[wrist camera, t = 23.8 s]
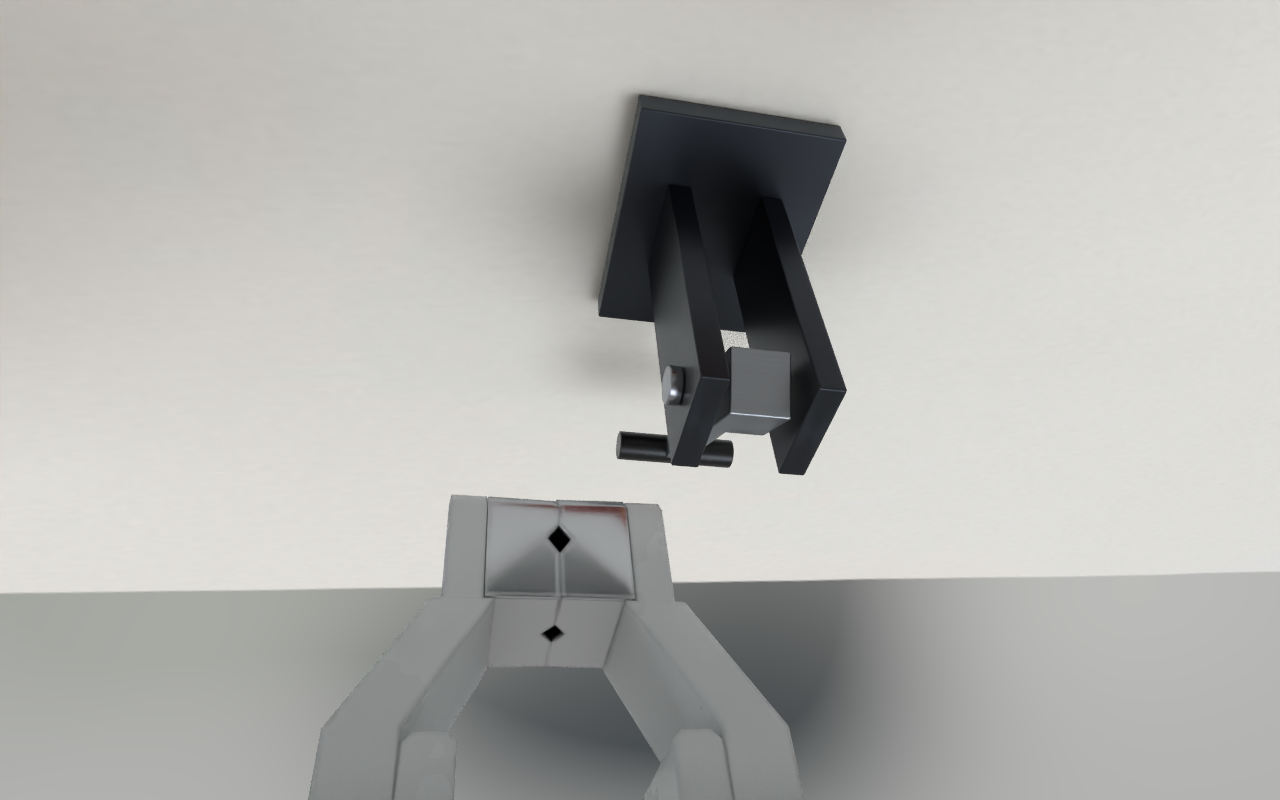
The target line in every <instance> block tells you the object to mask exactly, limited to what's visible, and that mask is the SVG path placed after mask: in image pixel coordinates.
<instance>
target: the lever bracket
mask: <svg viewBox="0 0 1280 800" xmlns="http://www.w3.org/2000/svg"><path fill="white" fill-rule="evenodd" d="M845 143H846V138H845V136H844V134H843V132H842V130H841V127H840V126H834V125H828V124H821V123H815V122H809V121H802V120H796V119H790V118H784V117H777V116H771V115H765V114H758V113H752V112H746V111H739V110H733V109H727V108H720V107H714V106H708V105H702V104H695V103H689V102H683V101H676V100H670V99H664V98H657V97H651V96H645V95H640V96H639V100H638V105H637V110H636V115H635V120H634V125H633V130H632V135H631V139H630V144H629V149H628V154H627V159H626V164H625V169H624V174H623V179H622V184H621V189H620V194H619V199H618V204H617V209H616V214H615V219H614V224H613V229H612V234H611V239H610V244H609V249H608V254H607V259H606V264H605V269H604V274H603V279H602V284H601V288H600V293H599V298H598V311H599V316H600V317H609V318H618V319H627V320H637V321H646V322H654V324H655V332H656V340H657V349H658V357H659V366H660V374H661V382H662V400H663V403H664V408H665V416H666V424H667V433H668V441H669V449H670V458H671V464H672V465H676V466H689V467H698V466H699V463H700V460H701V457H702V455H703V452H704V449H705V447H706V444H707V441H708V439H709V436H710V433H711V430H712V428H713V425H714V422H715V420H716V417H717V414H718V412H719V409H720V406H721V403H722V401H723V398H724V395H725V393H726V390H727V387H728V385H729V382H730V375H729V370H728V365H727V360H726V355H725V350H724V345H723V340H722V336H721V331H720V330H728V331H737V332H746V335H747V339H748V344H749V348H750V349H760V350H769V351H779V352H788V353H790V354H791V419H790V420H788V421H787V422H785V423H783V424H782V425H780V426H778V427H777V428H775V429H773V430H772V431H770V432H769V433H770V437H771V442H772V446H773V450H774V454H775V459H776V463H777V467H778V471H779V473H780V474H793V475H804V474H805V472H806V470H807V468H808V466H809V464H810V462H811V460H812V458H813V456H814V455H815V453H816V451H817V449H818V447H819V445H820V443H821V441H822V439H823V437H824V435H825V433H826V431H827V429H828V427H829V425H830V423H831V421H832V419H833V417H834V415H835V413H836V411H837V409H838V407H839V405H840V403H841V402H842V400H843V398H844V396H845V394H846V391H847V389H846V386H845V384H844V381H843V378H842V375H841V372H840V369H839V366H838V363H837V360H836V357H835V354H834V351H833V348H832V345H831V342H830V339H829V336H828V333H827V330H826V327H825V324H824V321H823V319H822V316H821V313H820V310H819V307H818V304H817V301H816V298H815V295H814V292H813V289H812V286H811V283H810V280H809V277H808V274H807V271H806V268H805V265H804V262H803V259H802V256H801V255H802V252H803V250H804V247H805V244H806V242H807V239H808V237H809V234H810V232H811V229H812V227H813V224H814V222H815V219H816V217H817V214H818V212H819V209H820V206H821V204H822V201H823V199H824V196H825V194H826V191H827V189H828V186H829V184H830V181H831V179H832V176H833V174H834V171H835V169H836V166H837V163H838V161H839V158H840V156H841V153H842V151H843V148H844V146H845Z"/></svg>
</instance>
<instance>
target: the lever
mask: <svg viewBox="0 0 1280 800" xmlns="http://www.w3.org/2000/svg"><path fill="white" fill-rule="evenodd" d="M725 355H726V360H727V365H728V370H729V375H730V382H729V385H728V387H727V390H726V393H725V395H724V398H723V401H722V403H721V406H720V409H719V412H718V414H717V417H716V420H715V422H714V425H713V428H712V430H711V433H710V436H709V439H708V441H707V444H706V447H705V449H704V452H703V455H702V457H701V460H700V463H699V465H701V466H714V467H726V468H728V467H730V466H731V464H732V461H733V454H734V449H733V443H732V441H730V440H718V439H716V438H718V437H719V436H721V435H722V434H724V433H725V432H729V433H741V434H752V435H765V434H767V433H768V432H770V431H772V430H773V429H775V428H777V427H778V426H780V425H782V424H783V423H785V422H787V421H788V420H790V419H791V354H790V353H788V352H779V351H769V350H760V349H750V348H741V347H730V348H729V349H728V350H727V351H726V352H725ZM616 456H617V459H624V460H637V461H650V462H663V463H671V458H670V449H669V441H668V435H659V434H647V433H635V432H623V431H620V432H619V434H618V437H617V445H616Z"/></svg>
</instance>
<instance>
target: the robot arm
mask: <svg viewBox="0 0 1280 800" xmlns="http://www.w3.org/2000/svg"><path fill="white" fill-rule="evenodd" d="M534 666H535V667H537V666H538V667H539V666H549V667H550V666H552V667H580V668H604V673H605V675H606V676H607V678H608V679H609V681H610V683H611V684H612V686H613V687H614V689H615V691H616V692H617V694H618V695H619V697H620V698H621V700H622V702H623V703H624V705H625V706H626V708H627V710H628V711H629V713H630V714H631V716H632V717H633V719H634V720H635V722H636V724H637V726H638V727H639V729H640V730H641V732H642V733H643V735H644V737H645V738H646V740H647V741H648V743H649V745H650V746H651V748H652V749H653V751H654V753H655V754H656V756H657V757H658V759H659V761H660V762H661V765H660V767H659V768H658V770H657V773H656V774H655V776H654V778H653V781H652V782H651V784H650V786H649V788H648V790H647V792H646V794H645V796H644V798H643V800H805V799H804V795H803V790H802V785H801V781H800V776H799V772H798V767H797V763H796V758H795V754H794V749H793V745H792V740H791V735H790V731H789V727H788V725H787V724H786V723H785V722H784V720H783V719H782V718H781V717H780V716H779V714H778V713H777V712H776V711H775V710H774V708H773V707H772V706H771V705H770V704H769V703H768V701H767V700H766V699H765V698H764V697H763V695H762V694H761V693H760V692H759V690H758V689H757V688H756V687H755V686H754V684H753V683H752V682H751V681H750V680H749V678H748V677H747V676H746V675H745V674H744V672H743V671H742V670H741V669H740V668H739V667H738V665H737V664H736V663H735V662H734V661H733V659H732V658H731V657H730V656H729V655H728V653H727V652H726V651H725V650H724V649H723V648H722V646H721V645H720V644H719V643H718V642H717V640H716V639H715V638H714V637H713V635H712V634H711V633H710V632H709V631H708V629H707V628H706V627H705V626H704V625H703V624H702V622H701V621H700V620H699V619H698V618H697V616H696V615H695V614H694V613H693V612H692V610H691V609H690V608H689V607H688V606H687V604H686V603H685V602H675V600H674V593H673V586H672V579H671V572H670V565H669V558H668V551H667V544H666V537H665V530H664V523H663V516H662V510H661V508H660V507H659V505H658V504H640V503H624V504H623V502H608V501H576V500H556V501H544V500H530V499H515V498H501V497H488V499H487V496H468V495H451V499H450V503H449V512H448V524H447V535H446V547H445V559H444V571H443V583H442V595H441V596H439V597H437V596H436V597H435V596H432V597H430V598H429V599H428V600H427V602H426V603H425V604H424V605H423V607H422V608H421V609H420V610H419V611H418V612H417V614H416V615H415V616H414V617H413V619H412V620H411V621H410V622H409V623H408V625H407V626H406V627H405V628H404V629H403V631H402V632H401V633H400V634H399V635H398V637H397V638H396V639H395V640H394V641H393V643H392V644H391V645H390V646H389V648H388V649H387V650H386V651H385V652H384V653H383V655H382V656H381V657H380V658H379V660H378V661H377V662H376V663H375V664H374V666H373V667H372V668H371V669H370V671H369V672H368V673H367V674H366V675H365V677H364V678H363V679H362V680H361V681H360V682H359V684H358V685H357V686H356V687H355V689H354V690H353V691H352V692H351V693H350V695H349V696H348V697H347V698H346V700H345V701H344V702H343V703H342V704H341V706H340V707H339V708H338V709H337V710H336V711H335V713H334V714H333V715H332V716H331V717H330V719H329V720H328V721H327V722H326V724H325V725H324V726H323V727H322V728H321V732H320V738H319V743H318V749H317V754H316V759H315V765H314V770H313V776H312V781H311V787H310V792H309V797H308V800H454V787H455V768H456V748H457V741H456V740H455V739H454V738H453V737H452V736H450V735H449V734H448V733H447V732H448V730H449V728H450V727H451V725H452V724H453V722H454V721H455V719H456V718H457V716H458V714H459V713H460V711H461V710H462V708H463V707H464V705H465V704H466V702H467V700H468V699H469V697H470V696H471V694H472V693H473V691H474V690H475V688H476V687H477V685H478V683H479V682H480V680H481V679H482V677H483V676H484V674H485V673H486V668H489V667H534Z"/></svg>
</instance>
